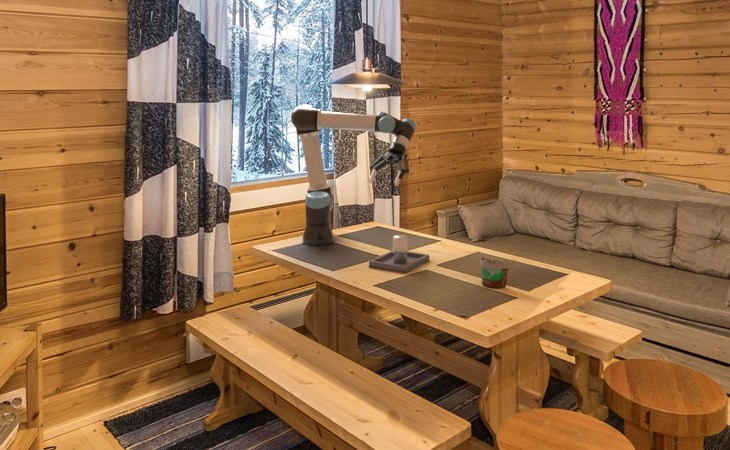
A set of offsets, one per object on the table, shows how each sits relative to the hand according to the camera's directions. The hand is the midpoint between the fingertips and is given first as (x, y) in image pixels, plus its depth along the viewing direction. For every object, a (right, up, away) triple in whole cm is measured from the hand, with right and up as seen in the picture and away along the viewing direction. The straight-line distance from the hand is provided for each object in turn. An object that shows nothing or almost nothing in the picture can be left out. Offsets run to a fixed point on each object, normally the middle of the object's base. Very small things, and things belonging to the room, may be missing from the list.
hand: (382, 182), depth 289 cm
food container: (+39, -43, -53) cm, 78 cm away
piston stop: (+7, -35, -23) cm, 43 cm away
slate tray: (+6, -36, -23) cm, 43 cm away
